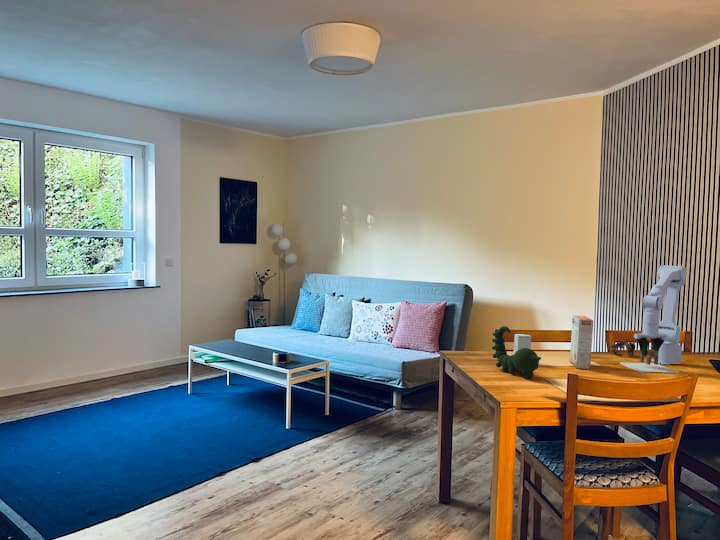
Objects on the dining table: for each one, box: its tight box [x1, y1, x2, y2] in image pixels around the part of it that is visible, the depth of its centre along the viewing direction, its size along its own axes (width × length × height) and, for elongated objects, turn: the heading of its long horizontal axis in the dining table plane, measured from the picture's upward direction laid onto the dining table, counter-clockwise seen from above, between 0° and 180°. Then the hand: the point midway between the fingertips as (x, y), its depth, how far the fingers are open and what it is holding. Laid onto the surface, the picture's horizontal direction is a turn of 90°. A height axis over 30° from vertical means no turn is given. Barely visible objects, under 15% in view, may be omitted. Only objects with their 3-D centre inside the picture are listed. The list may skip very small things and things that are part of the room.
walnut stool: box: [639, 348, 659, 365], centre depth 224 cm, size 5×5×6 cm
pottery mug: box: [610, 340, 636, 358], centre depth 252 cm, size 12×10×8 cm
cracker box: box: [569, 315, 594, 370], centre depth 224 cm, size 14×6×21 cm, turn 168°
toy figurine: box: [491, 325, 542, 379], centre depth 205 cm, size 9×19×25 cm
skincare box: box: [513, 333, 532, 355], centre depth 227 cm, size 6×4×12 cm
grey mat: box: [619, 362, 680, 374], centre depth 224 cm, size 16×16×1 cm
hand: (649, 355), depth 224 cm, fingers closed on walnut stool, 4 cm apart
